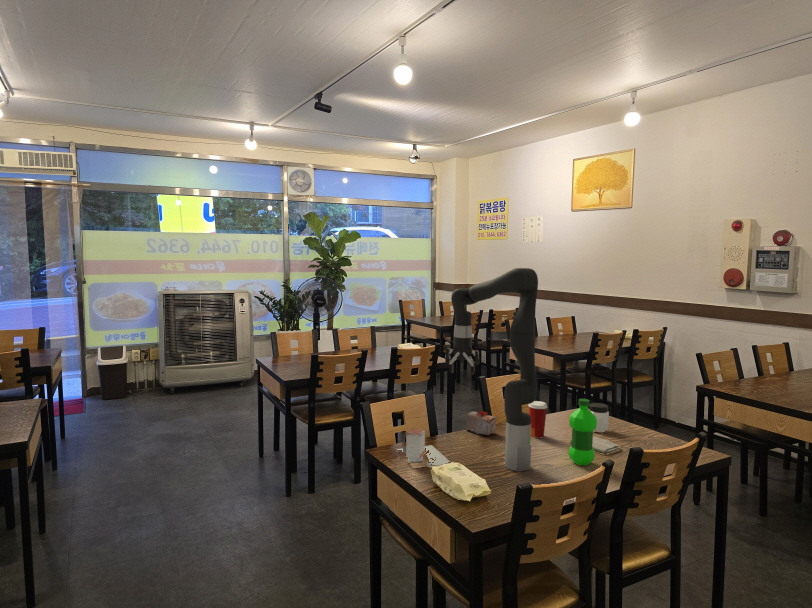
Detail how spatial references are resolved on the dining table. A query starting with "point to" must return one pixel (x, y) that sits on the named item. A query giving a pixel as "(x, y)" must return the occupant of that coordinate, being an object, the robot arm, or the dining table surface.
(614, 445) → the washcloth
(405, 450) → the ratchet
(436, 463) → the mat
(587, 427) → the plastic bottle
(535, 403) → the coffee cup
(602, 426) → the jar
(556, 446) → the dining table surface
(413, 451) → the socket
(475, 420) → the food item
